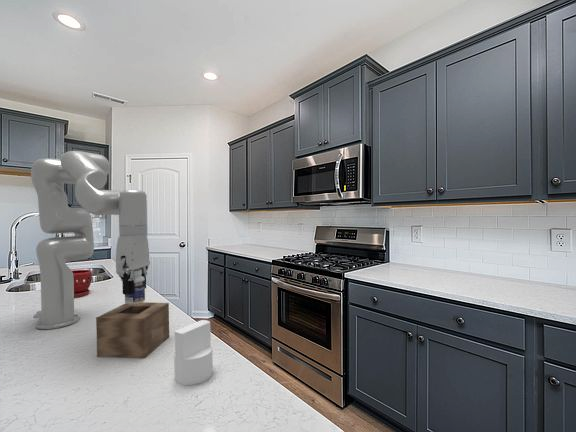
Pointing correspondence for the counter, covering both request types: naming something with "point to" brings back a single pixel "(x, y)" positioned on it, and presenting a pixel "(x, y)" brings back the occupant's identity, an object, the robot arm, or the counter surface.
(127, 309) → the socket block
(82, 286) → the plant pot
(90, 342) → the counter surface
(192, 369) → the cylinder with rectangular tab
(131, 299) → the pill bottle
